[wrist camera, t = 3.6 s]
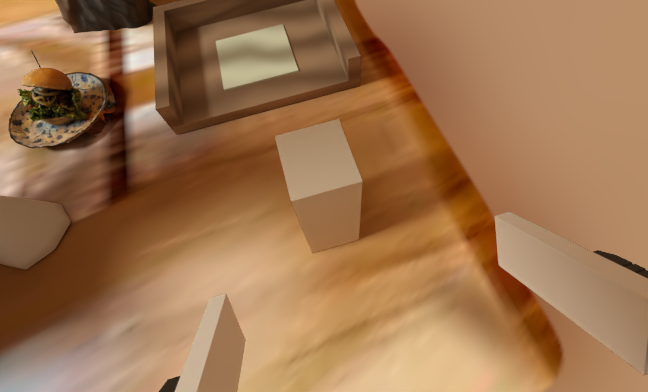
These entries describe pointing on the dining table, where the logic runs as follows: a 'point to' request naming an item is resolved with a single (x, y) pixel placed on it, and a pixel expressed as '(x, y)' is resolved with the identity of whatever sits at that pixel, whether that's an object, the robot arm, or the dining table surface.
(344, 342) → the dining table surface
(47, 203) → the flask
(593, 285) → the robot arm
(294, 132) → the block
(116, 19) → the owl
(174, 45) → the shallow rimmed tray
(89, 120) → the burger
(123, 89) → the dining table surface
